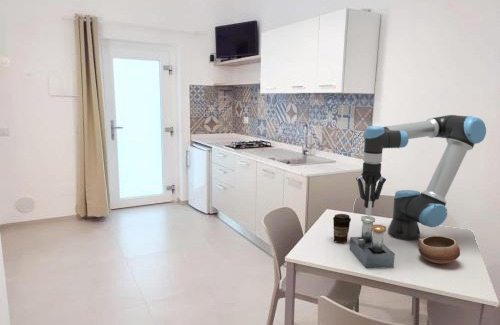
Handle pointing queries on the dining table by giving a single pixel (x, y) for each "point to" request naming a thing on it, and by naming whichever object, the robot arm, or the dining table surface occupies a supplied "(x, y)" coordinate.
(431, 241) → the bowl
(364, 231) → the white light bulb
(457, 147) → the robot arm
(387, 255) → the mount
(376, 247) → the orange light bulb
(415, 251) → the dining table surface
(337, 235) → the coffee cup
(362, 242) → the knob
